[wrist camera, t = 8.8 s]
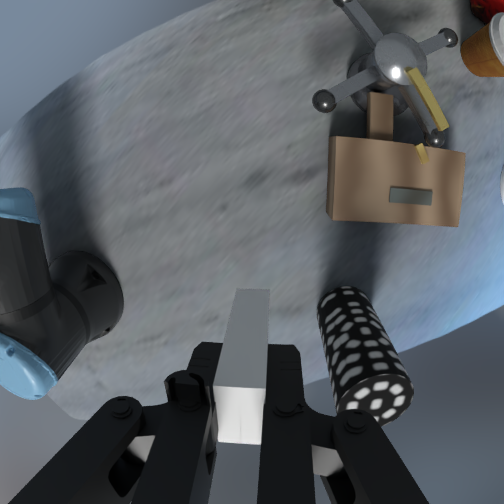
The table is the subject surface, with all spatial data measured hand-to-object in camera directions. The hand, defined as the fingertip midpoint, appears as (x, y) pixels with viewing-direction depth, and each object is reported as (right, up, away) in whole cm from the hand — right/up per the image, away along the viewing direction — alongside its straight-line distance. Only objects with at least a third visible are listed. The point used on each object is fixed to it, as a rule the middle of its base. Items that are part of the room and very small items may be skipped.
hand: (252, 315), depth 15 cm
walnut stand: (+19, +16, +25) cm, 35 cm away
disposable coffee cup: (+34, +32, +18) cm, 50 cm away
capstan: (+16, +26, +21) cm, 37 cm away
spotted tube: (+14, -6, +32) cm, 36 cm away
